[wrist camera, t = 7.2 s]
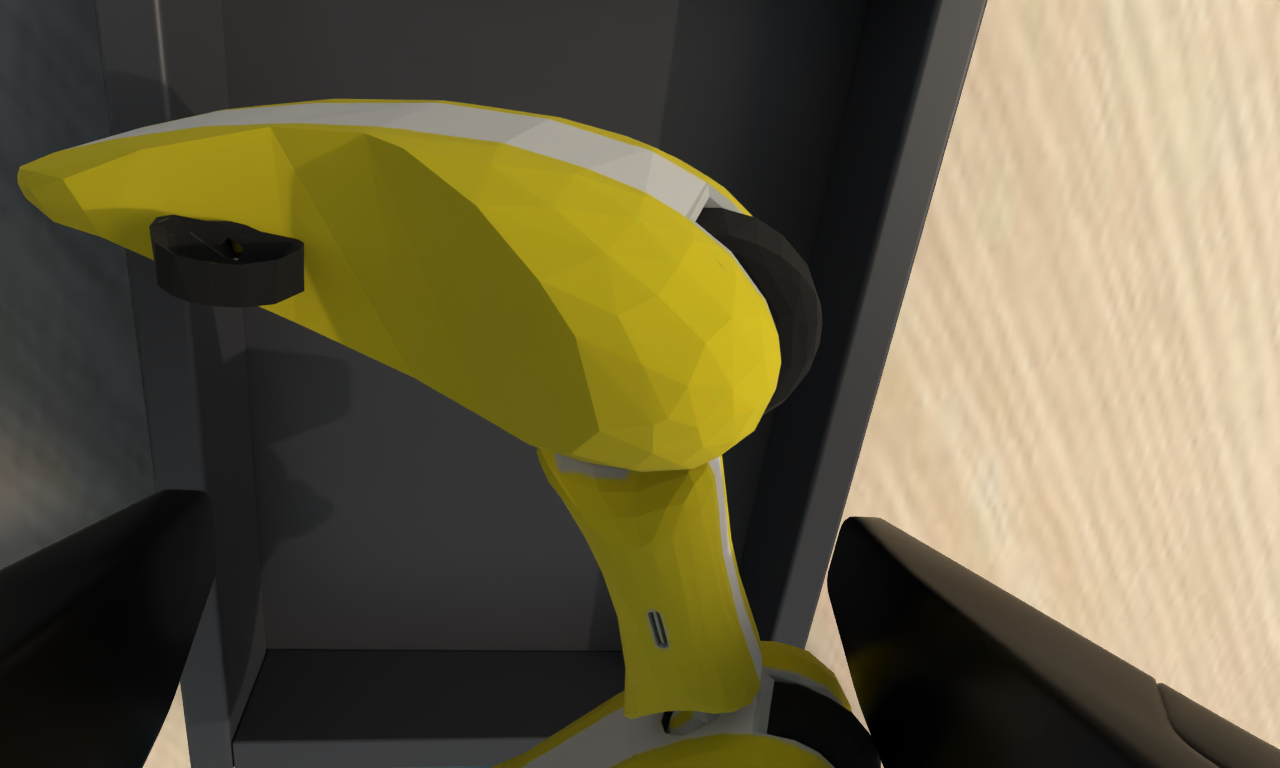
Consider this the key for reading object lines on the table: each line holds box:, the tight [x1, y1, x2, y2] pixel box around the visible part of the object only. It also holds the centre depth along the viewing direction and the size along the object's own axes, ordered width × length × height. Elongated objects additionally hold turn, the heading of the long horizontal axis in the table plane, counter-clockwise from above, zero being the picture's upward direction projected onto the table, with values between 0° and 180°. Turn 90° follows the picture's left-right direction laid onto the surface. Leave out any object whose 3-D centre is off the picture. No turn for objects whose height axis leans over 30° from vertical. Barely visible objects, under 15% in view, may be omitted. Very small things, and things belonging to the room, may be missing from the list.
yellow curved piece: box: [17, 99, 881, 768], centre depth 9 cm, size 10×6×4 cm, turn 13°
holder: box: [94, 0, 987, 768], centre depth 13 cm, size 10×14×3 cm
